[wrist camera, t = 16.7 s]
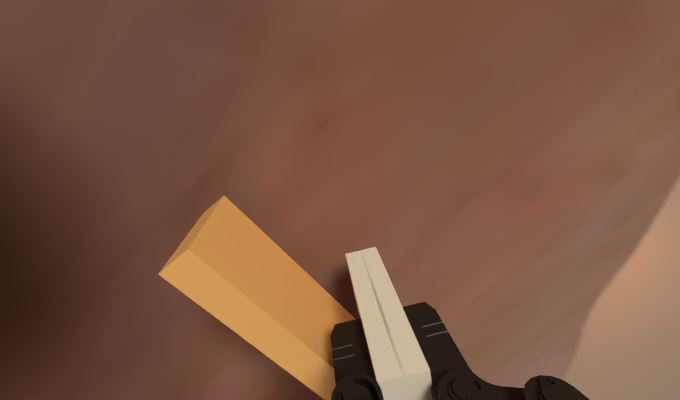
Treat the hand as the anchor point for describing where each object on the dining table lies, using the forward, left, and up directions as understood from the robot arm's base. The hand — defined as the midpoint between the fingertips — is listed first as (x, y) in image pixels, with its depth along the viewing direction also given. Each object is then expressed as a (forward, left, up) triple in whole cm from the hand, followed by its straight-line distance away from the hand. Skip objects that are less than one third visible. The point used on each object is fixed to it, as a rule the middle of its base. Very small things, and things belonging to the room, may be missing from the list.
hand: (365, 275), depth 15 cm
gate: (-1, -4, -1) cm, 4 cm away
